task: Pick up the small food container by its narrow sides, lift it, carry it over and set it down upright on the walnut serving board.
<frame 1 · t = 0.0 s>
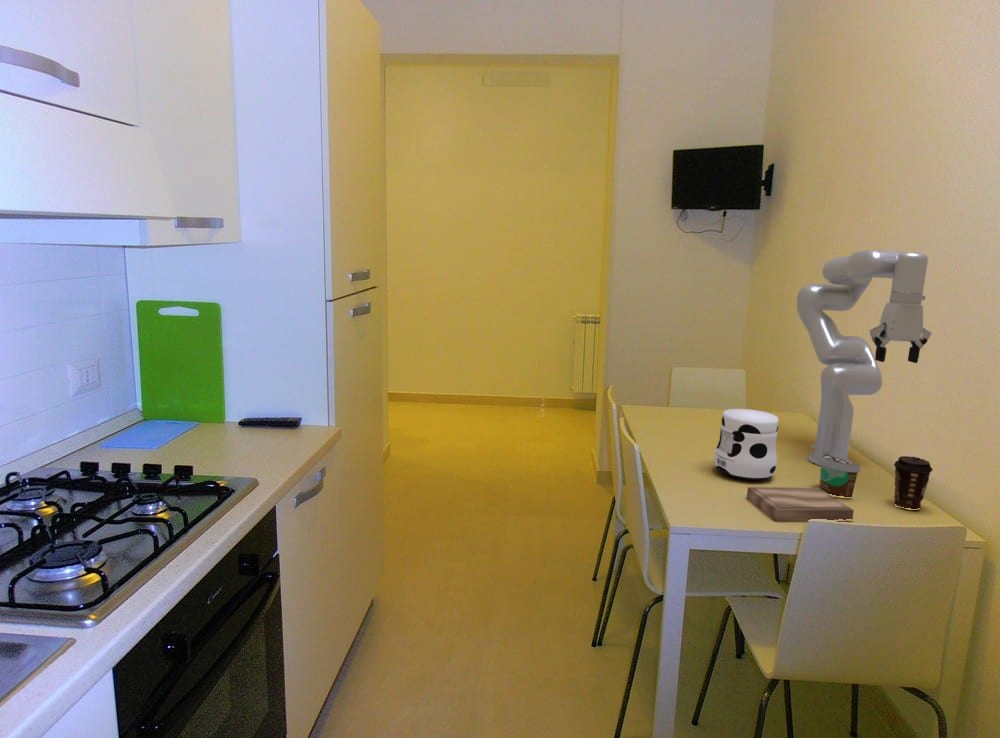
hand: (896, 361, 199), 37 cm above the table, tool pointing down, fingers open, 9 cm apart
food container: (829, 493, 201), on the table
board: (797, 509, 187), on the table
coffee cup: (907, 507, 193), on the table
milk container: (743, 475, 213), on the table
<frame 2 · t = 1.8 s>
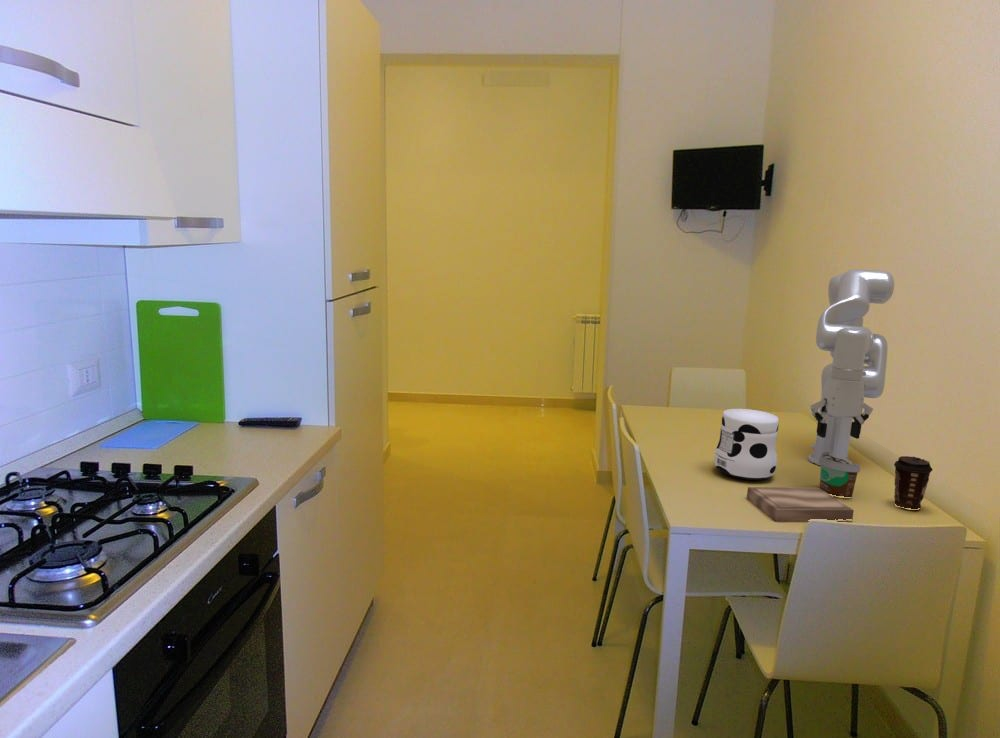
hand: (837, 436, 197), 16 cm above the table, tool pointing down, fingers open, 9 cm apart
nothing on the table moved.
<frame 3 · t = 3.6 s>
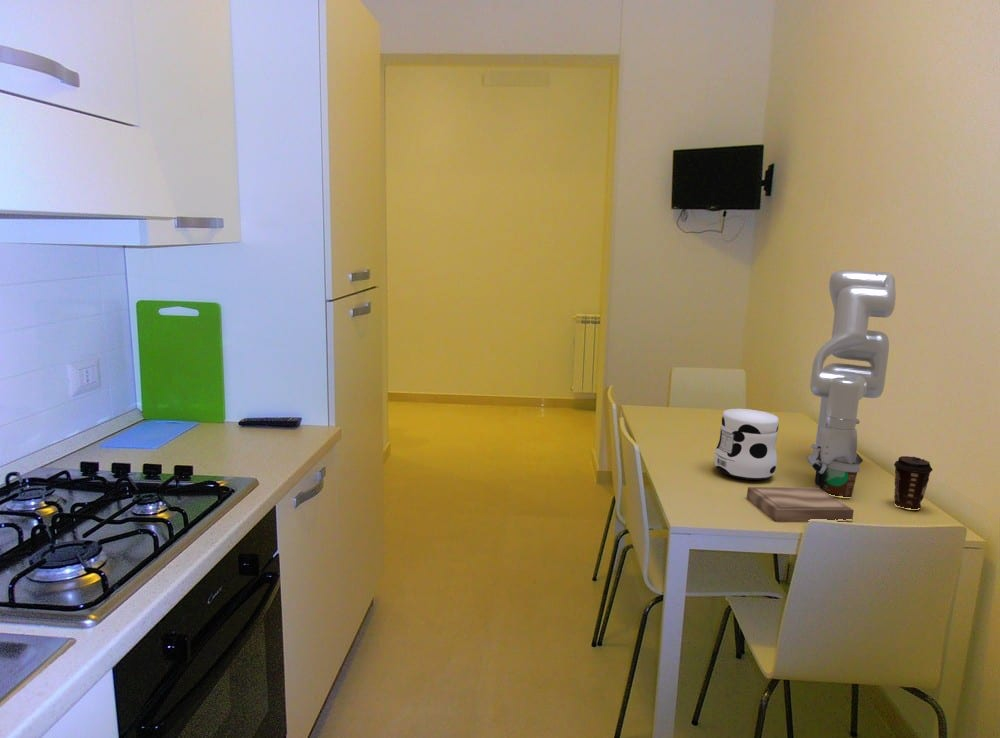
hand: (831, 485, 200), 2 cm above the table, tool pointing down, fingers open, 6 cm apart
food container: (829, 493, 201), on the table, touching gripper
everything else where it was.
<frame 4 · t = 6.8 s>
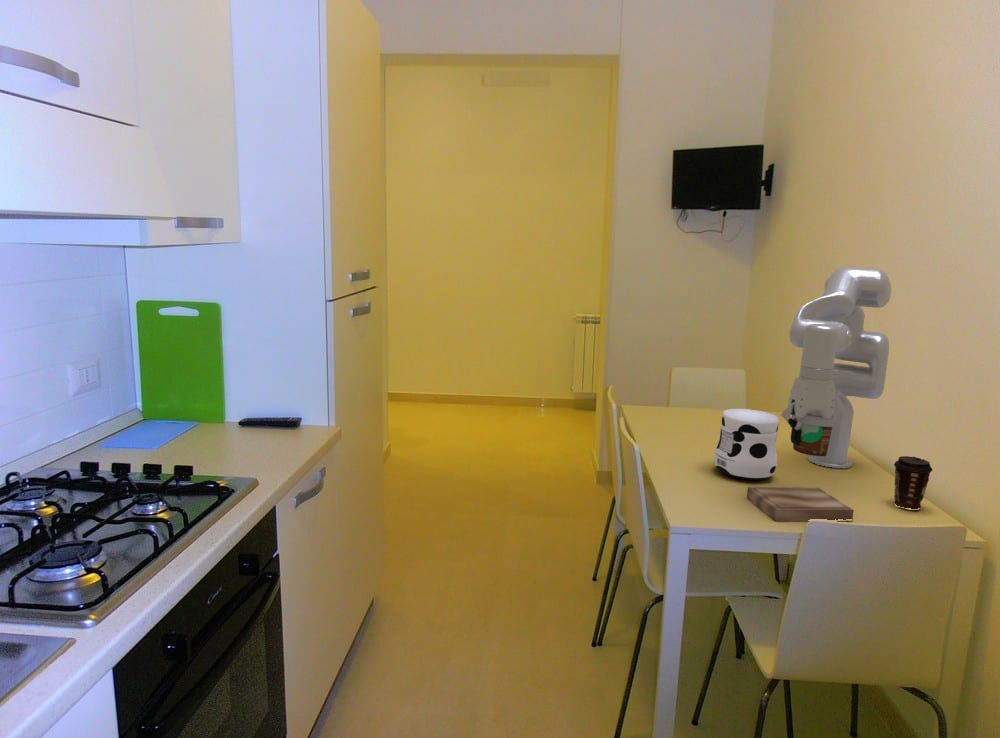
hand: (806, 443, 184), 18 cm above the table, tool pointing down, fingers closed on food container, 5 cm apart
food container: (803, 451, 184), point 15 cm above the table, touching gripper
everything else where it was.
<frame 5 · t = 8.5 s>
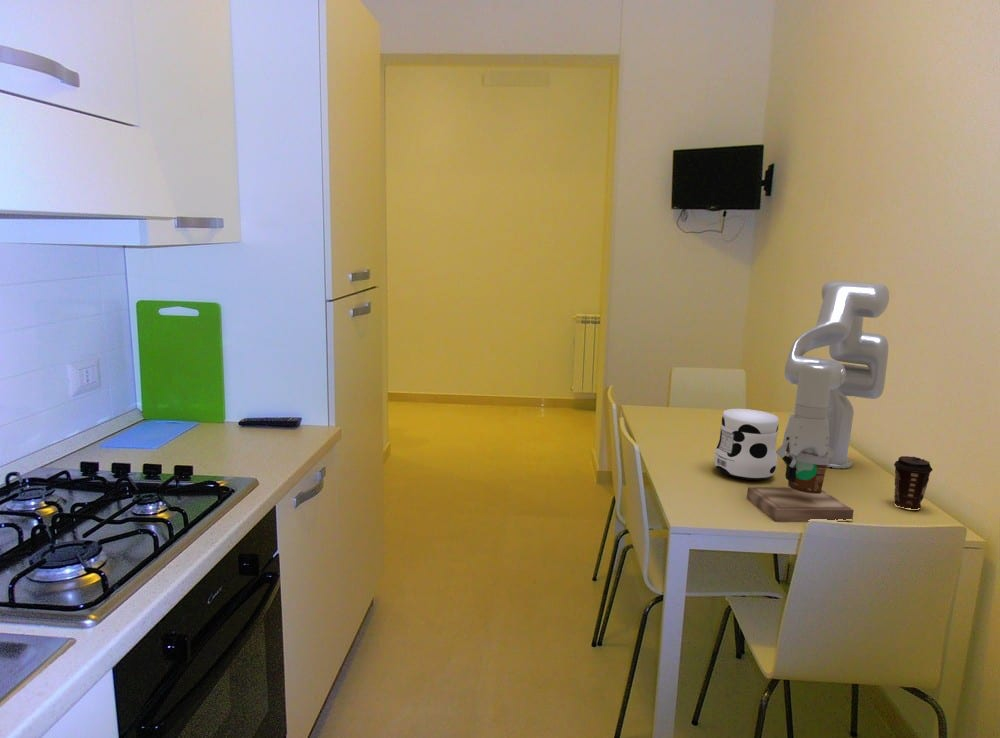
hand: (801, 480, 185), 8 cm above the table, tool pointing down, fingers closed on food container, 5 cm apart
food container: (797, 488, 186), point 6 cm above the table, touching gripper
everything else where it was.
when the fingers open (7 cm above the table, at t = 9.6 s): food container drops 2 cm, resting on board.
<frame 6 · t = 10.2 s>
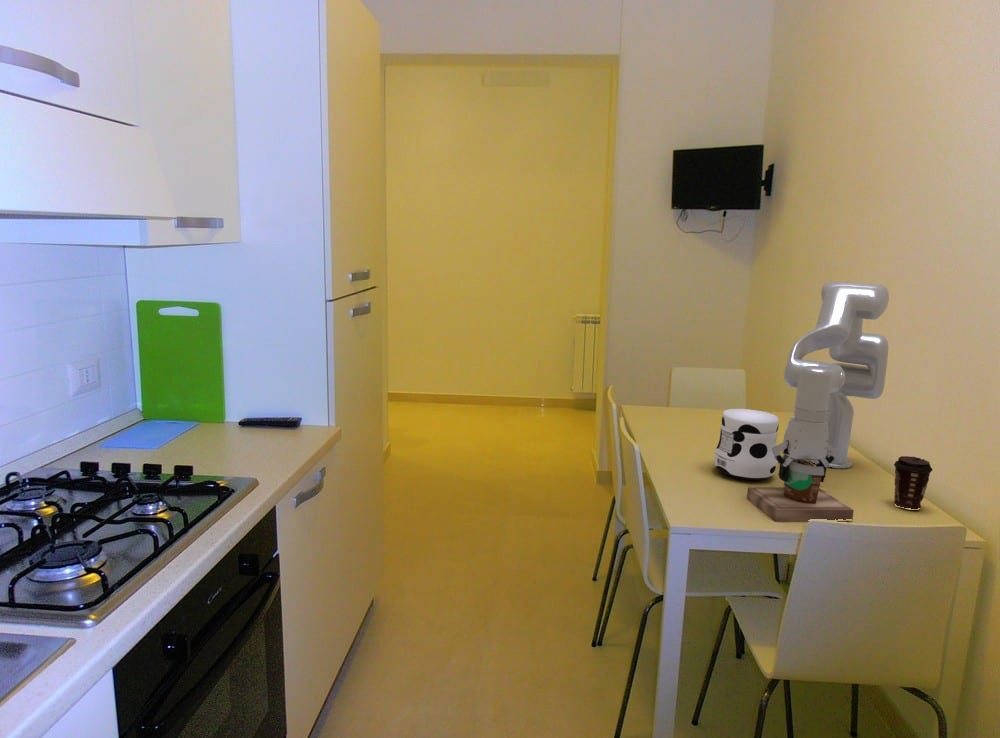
hand: (801, 480, 185), 8 cm above the table, tool pointing down, fingers open, 9 cm apart
food container: (793, 498, 186), point 3 cm above the table, touching board
everything else where it was.
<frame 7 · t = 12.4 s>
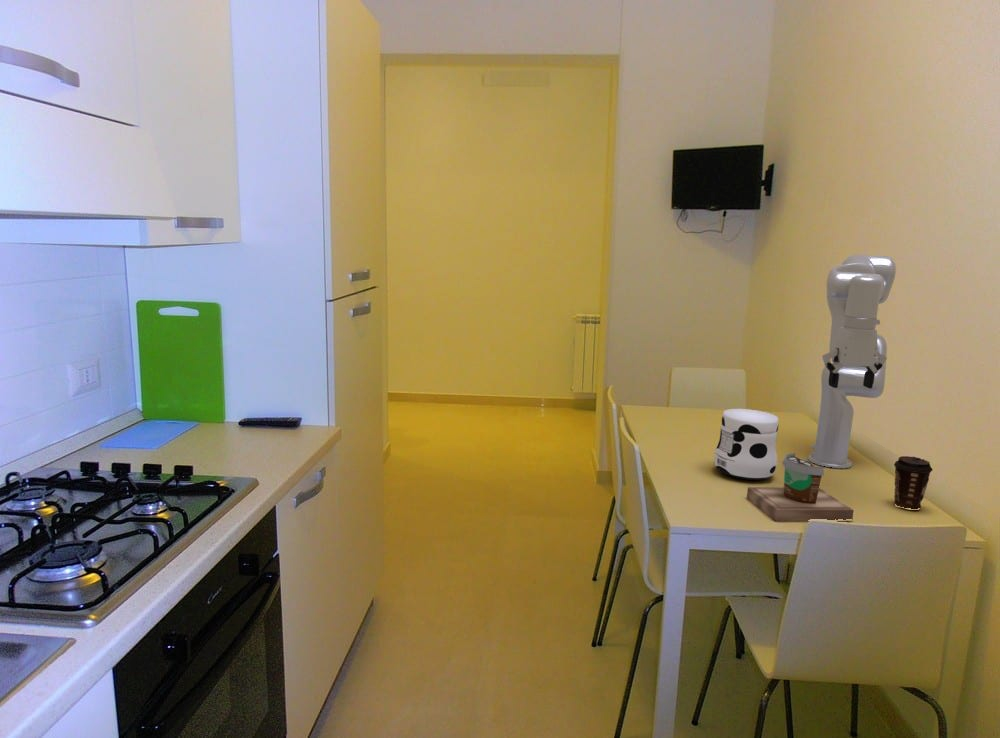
hand: (850, 387, 194), 30 cm above the table, tool pointing down, fingers open, 9 cm apart
nothing on the table moved.
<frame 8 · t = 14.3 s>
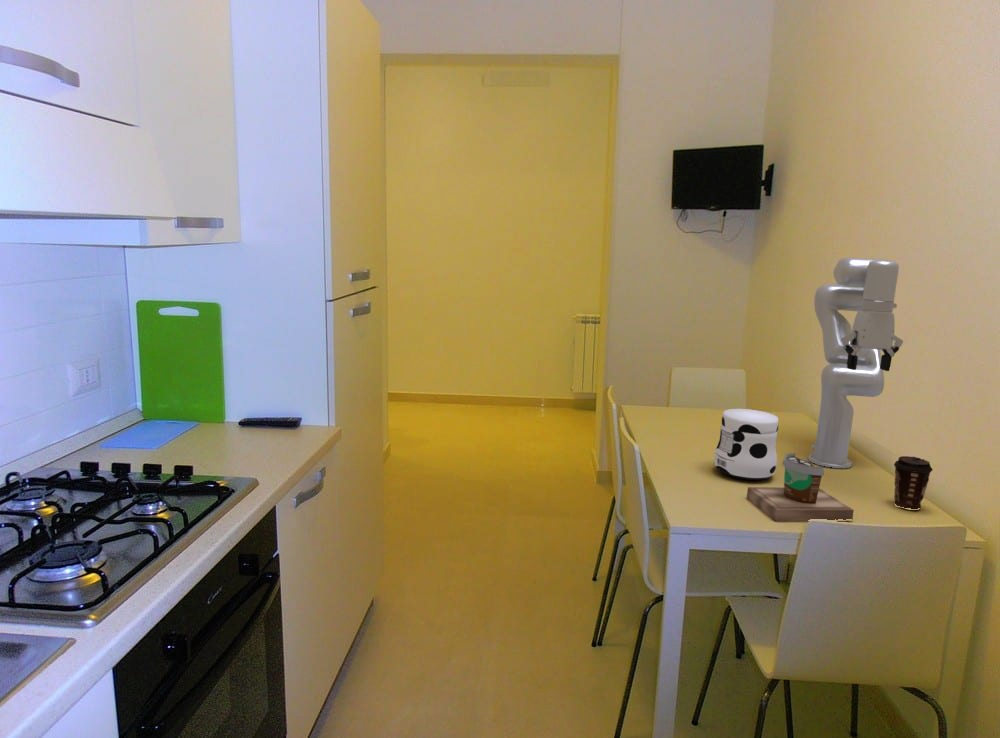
hand: (867, 369, 198), 34 cm above the table, tool pointing down, fingers open, 9 cm apart
nothing on the table moved.
at the end: food container inside the target area on the board (1.4 cm from its centre), point 3.0 cm above the board's base; food container tilted 0°; the gripper is holding nothing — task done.
